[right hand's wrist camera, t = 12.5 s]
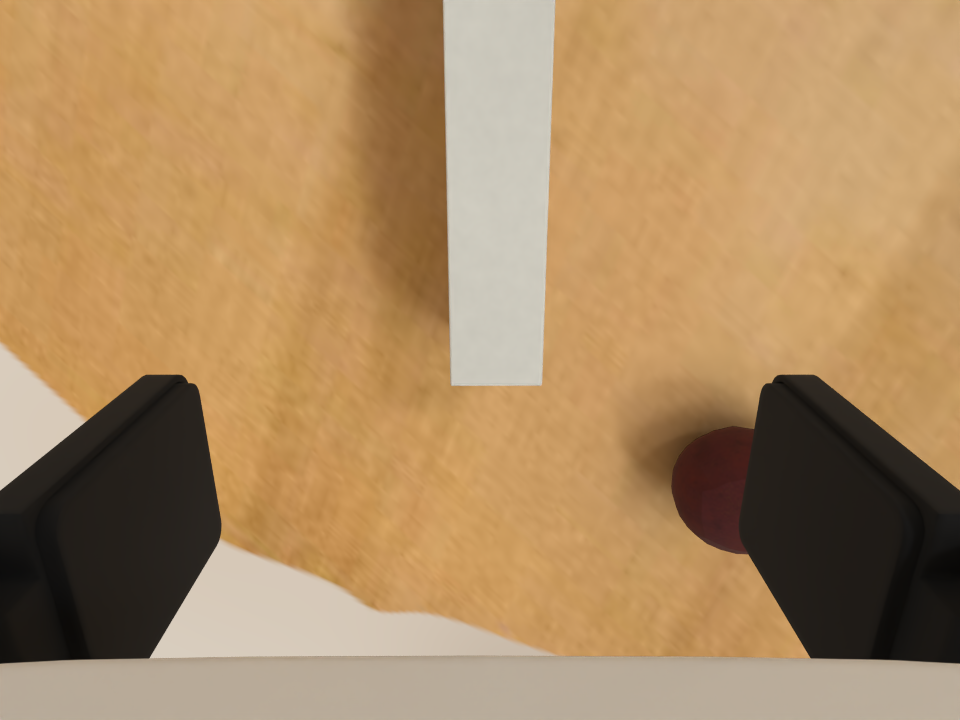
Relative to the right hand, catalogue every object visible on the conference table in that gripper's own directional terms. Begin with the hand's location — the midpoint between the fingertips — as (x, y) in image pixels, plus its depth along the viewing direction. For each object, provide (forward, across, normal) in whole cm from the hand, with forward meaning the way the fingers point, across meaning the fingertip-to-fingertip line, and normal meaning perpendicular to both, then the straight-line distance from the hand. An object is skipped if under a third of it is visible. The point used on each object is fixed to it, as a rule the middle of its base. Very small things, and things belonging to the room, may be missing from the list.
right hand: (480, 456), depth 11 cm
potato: (+26, +15, -15) cm, 34 cm away
